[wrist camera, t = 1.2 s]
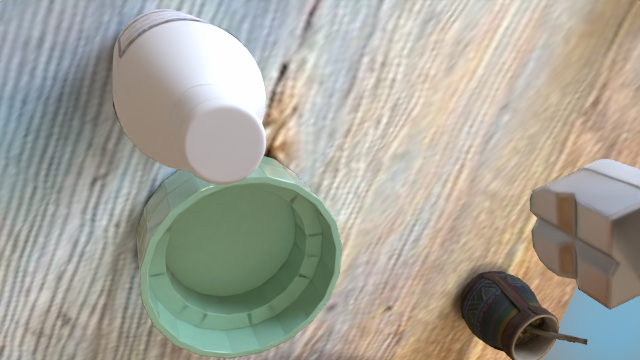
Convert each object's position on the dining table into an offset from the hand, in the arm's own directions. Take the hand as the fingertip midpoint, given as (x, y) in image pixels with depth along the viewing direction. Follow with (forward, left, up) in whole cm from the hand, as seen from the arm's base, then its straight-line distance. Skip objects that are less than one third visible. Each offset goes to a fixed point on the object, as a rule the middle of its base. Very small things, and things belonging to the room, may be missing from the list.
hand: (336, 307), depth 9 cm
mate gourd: (+31, +22, -30) cm, 48 cm away
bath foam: (0, 0, -30) cm, 30 cm away
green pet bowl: (+14, 0, -30) cm, 33 cm away
